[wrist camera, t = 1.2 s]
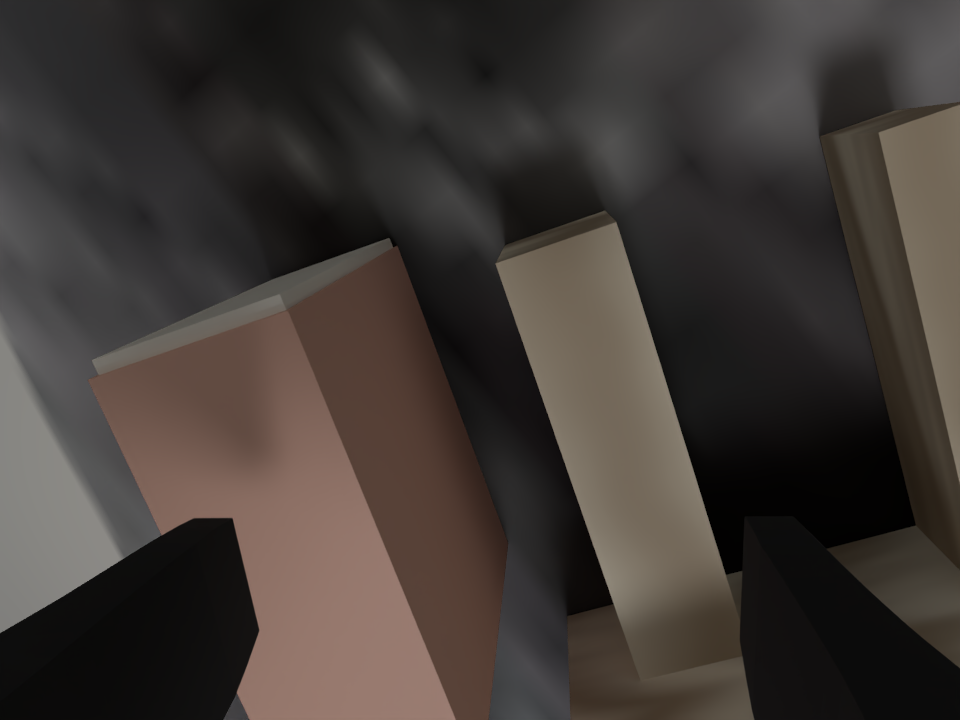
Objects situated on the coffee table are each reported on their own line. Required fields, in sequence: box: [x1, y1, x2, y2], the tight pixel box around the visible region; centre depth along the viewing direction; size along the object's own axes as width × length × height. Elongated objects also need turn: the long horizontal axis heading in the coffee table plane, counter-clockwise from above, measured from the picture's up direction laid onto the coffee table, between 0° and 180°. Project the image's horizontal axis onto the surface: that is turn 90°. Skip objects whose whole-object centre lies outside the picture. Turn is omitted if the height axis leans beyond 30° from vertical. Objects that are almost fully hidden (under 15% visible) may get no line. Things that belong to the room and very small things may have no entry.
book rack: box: [496, 102, 960, 720], centre depth 19 cm, size 16×14×9 cm
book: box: [88, 238, 508, 720], centre depth 20 cm, size 4×10×10 cm, turn 20°
